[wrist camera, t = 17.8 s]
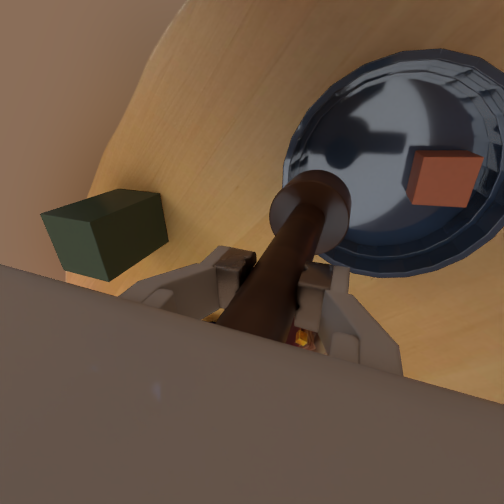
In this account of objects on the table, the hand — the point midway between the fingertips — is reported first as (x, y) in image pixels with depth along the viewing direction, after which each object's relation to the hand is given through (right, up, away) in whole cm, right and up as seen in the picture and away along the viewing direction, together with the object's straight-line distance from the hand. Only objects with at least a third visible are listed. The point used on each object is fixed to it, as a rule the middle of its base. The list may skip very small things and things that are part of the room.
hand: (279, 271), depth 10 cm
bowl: (+12, +9, +17) cm, 23 cm away
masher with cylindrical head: (+3, +4, +7) cm, 9 cm away
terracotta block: (+16, +8, +14) cm, 23 cm away
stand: (-18, +7, +31) cm, 37 cm away
